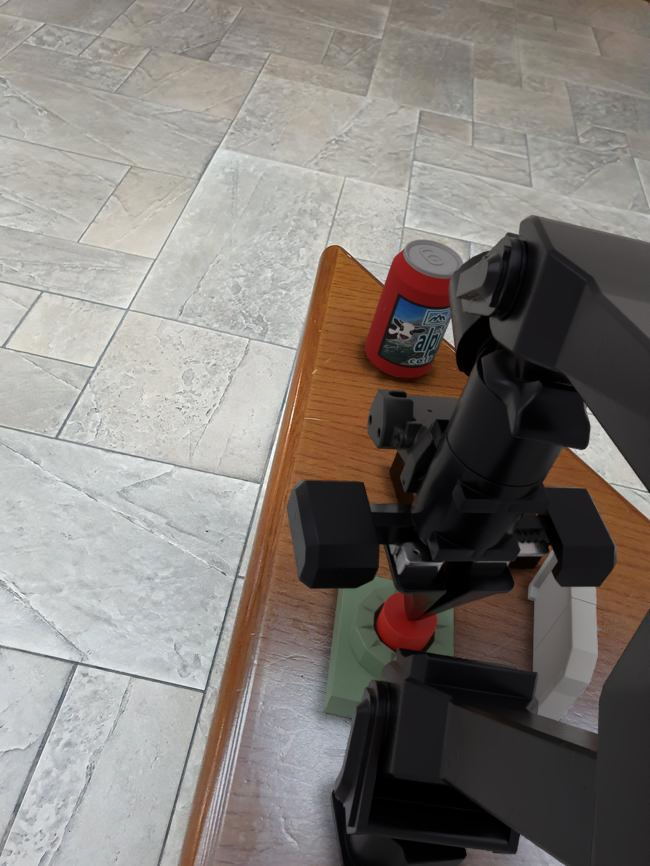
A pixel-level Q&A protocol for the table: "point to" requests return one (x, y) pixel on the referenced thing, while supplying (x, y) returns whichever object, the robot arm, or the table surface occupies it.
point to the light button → (403, 626)
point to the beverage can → (413, 309)
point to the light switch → (562, 640)
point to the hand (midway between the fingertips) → (411, 614)
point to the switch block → (368, 644)
